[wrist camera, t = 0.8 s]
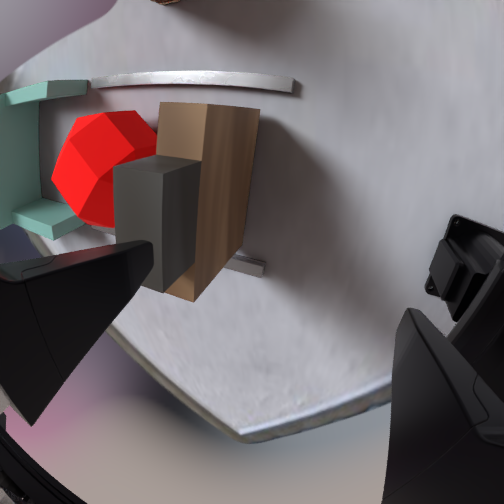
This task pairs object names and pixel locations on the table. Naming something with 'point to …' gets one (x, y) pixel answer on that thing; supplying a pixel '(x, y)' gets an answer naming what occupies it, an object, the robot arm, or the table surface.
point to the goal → (30, 161)
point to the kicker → (189, 194)
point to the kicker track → (203, 78)
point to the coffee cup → (165, 1)
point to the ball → (99, 161)
